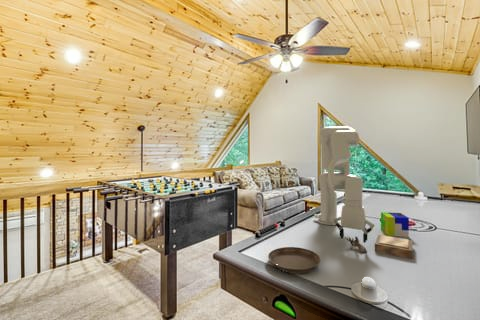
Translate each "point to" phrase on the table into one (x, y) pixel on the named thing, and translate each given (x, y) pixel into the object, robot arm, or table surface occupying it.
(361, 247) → the eagle figurine
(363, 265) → the table surface
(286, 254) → the plant saucer
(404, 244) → the walnut tray
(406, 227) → the puzzle toy
